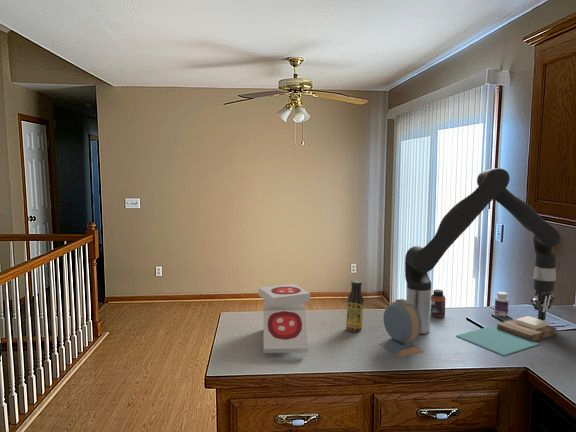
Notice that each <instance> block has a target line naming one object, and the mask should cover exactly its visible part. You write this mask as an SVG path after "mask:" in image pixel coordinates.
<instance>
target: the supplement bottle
mask: <svg viewBox="0 0 576 432" xmlns="http://www.w3.org/2000/svg"><path fill="white" fill-rule="evenodd" d="M432 293H433V294H431V307H430V317H431V316H432V317H433V318H437V319H440V318H441V319H442V318H444V317H446V296H445V295H444V290H442V289H433V292H432Z"/></svg>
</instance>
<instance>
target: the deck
mask: <svg viewBox="0 0 576 432" xmlns="http://www.w3.org/2000/svg"><path fill="white" fill-rule="evenodd" d="M522 317H523V316H521V317H520V318H522ZM518 318H519V317H517V318H514V319H509V320H506V321H502V322H499V323H497V326H496V329H499V330H502V331H505V332H508V333H510V334H513V335H516V336H519V337H522V338H524V339H527V340H530V341H533V342H536V341H538V340H541V339H545V338H548V337H552V336H555V335H556V334H557V327H555V326H552V325H549V324H547V326H545V327H542V328H538V329H532V328H529V327H526V326H523V325H520V324H517V323H515V322H516V319H518Z"/></svg>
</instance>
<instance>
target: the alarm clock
mask: <svg viewBox="0 0 576 432" xmlns="http://www.w3.org/2000/svg"><path fill="white" fill-rule="evenodd" d="M385 308H386V309H384V312H383V326H384V329H385V331H386V332H387V334H388V335H389V336H390V338H389V339H388V340H386V341H383V342H380V343H379V345H380V346H381V345H382V347H383V348H385V349H387V350H388V349H389V351H390V350H391V351H390V352H391V353H394V354H395V353H396V355H397V356H399V357H401V358H405V357H409V356H412V355H413V354H414V355H418V354H422V353H424V352H425V351H424V350H423V349H421V348H420V347H419V346H417V345H415V344H414V343H413V342H412V341H414V340H415V339H416V338H417V337H418V336H419V335H420V334H419V333H420V331H421V326H422V322H421V317H420V314H419V312H418V310H417V309H416V308H415V307H414V306H413V305H412V304H410V303H409V302H408V301H406V299H403V298H398V299H395V300H394V301H393V302H392V303H390V304H389V305H388V306H387V307H385ZM421 352H422V353H421Z"/></svg>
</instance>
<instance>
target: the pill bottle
mask: <svg viewBox="0 0 576 432" xmlns="http://www.w3.org/2000/svg"><path fill="white" fill-rule="evenodd" d="M509 303H510V301H509V298H508V293H507V292H505V291H497V292H496V297H494V307H493V308H494V311H493V313H494V315H496V316H498V317H507V316H509Z"/></svg>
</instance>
